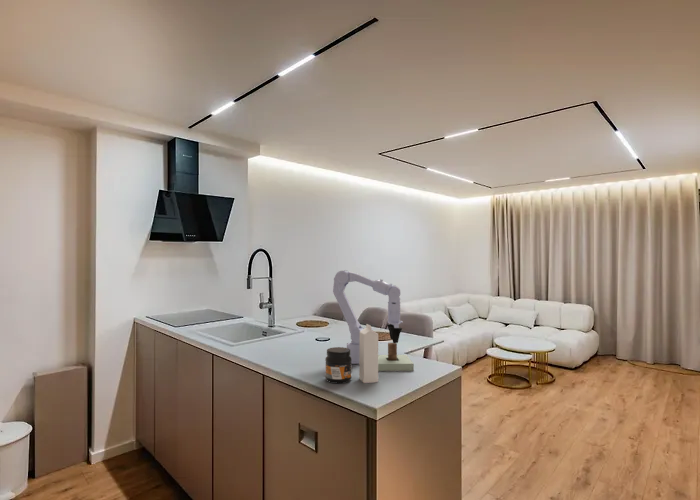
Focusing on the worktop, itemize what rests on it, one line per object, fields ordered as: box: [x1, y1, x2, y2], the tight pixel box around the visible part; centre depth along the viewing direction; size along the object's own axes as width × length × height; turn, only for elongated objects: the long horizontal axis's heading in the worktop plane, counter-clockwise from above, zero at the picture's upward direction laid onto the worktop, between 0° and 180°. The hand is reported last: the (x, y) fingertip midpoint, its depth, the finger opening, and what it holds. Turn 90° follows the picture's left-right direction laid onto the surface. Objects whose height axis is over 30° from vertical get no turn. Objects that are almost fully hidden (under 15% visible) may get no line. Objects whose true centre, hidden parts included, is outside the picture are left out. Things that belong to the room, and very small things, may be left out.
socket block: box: [378, 354, 414, 372], centre depth 169 cm, size 16×16×3 cm
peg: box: [387, 342, 398, 361], centre depth 169 cm, size 4×4×10 cm
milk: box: [358, 323, 379, 384], centre depth 148 cm, size 6×6×22 cm
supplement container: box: [324, 346, 352, 384], centre depth 148 cm, size 10×10×12 cm
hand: (394, 341), depth 173 cm, fingers open, 7 cm apart
